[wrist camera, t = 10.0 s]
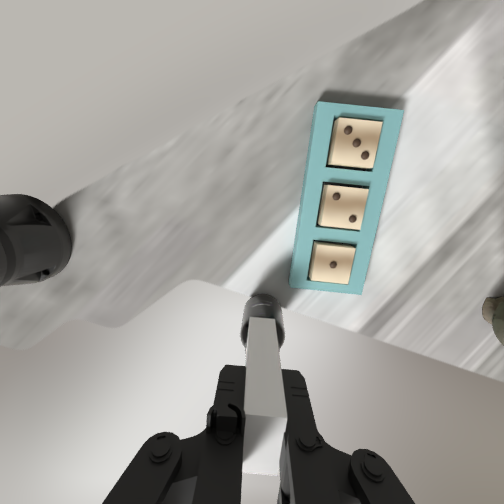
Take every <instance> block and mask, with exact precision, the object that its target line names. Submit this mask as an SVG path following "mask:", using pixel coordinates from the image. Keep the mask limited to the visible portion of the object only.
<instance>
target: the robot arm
mask: <svg viewBox="0 0 504 504" xmlns="http://www.w3.org/2000/svg"><path fill="white" fill-rule="evenodd" d="M70 254H71V240H70V235H69V232H68V230H67V227H66V225H65V223H64V222H63V220H62V219H61V217H60V216H59V215H58V214H57V213H56V212H55V211H54V210H53V209H52V208H51V207H50V206H48V205H47V204H46V203H44V202H43V201H41V200H39V199H37V198H34V197H31V196H28V195H22V194H12V195H0V286H9V285H20V284H31V283H37V282H41V281H44V280H46V279H48V278H50V277H53V276H55V275H56V274H58V273H59V272H61V271H62V270H63V269H64V267H65V266H66V264H67V263H68V260H69V258H70ZM279 467H280V480H281V482H280V488H279V494H278V500H277V504H415V503H414V501H413V500H412V498H411V497H410V495H409V494H408V493H407V491H406V489H405V488H404V486H403V485H402V484H401V482H400V481H399V479H398V478H397V476H396V475H395V473H394V472H393V470H392V469H391V467H390V466H389V465H388V464H387V462H386V461H385V460H384V459H383V458H382V457H381V456H379V455H378V454H376V453H375V452H373V451H370V450H368V449H358V450H356V451H354V452H353V454H352V456H351V455H349V454H346V453H344V452H342V451H339V450H337V449H335V448H333V447H331V446H330V445H328V444H327V443H326V442H325V441H324V439H323V437H322V436H321V435H320V434H319V432H318V430H317V428H316V424H315V419H314V415H313V411H312V407H311V403H310V399H309V394H308V391H307V386H306V382H305V379H304V377H303V376H302V375H301V373H300V372H299V371H297V370H286V369H281V363H280V356H279V347H278V340H277V332H276V324H275V319H268V318H257V317H250V319H249V329H248V339H247V349H246V362H245V366H234V365H225V367H224V368H223V369H222V370H221V371H220V374H219V379H218V385H217V390H216V395H215V400H214V405H213V406H212V407H211V408H210V409H209V412H208V414H207V425H206V429H205V430H204V431H202V432H201V433H200V434H198V435H196V436H193V437H190V438H186V439H182V440H180V439H179V437H178V436H177V435H175V434H173V433H170V432H162V433H157V434H155V435H154V436H152V437H150V438H149V439H148V440H147V441H146V442H145V443H144V444H143V446H142V447H141V448H140V450H139V451H138V453H137V454H136V456H135V457H134V459H133V460H132V461H131V463H130V464H129V466H128V467H127V468H126V470H125V471H124V473H123V474H122V476H121V477H120V479H119V480H118V482H117V483H116V484H115V486H114V487H113V489H112V490H111V491H110V493H109V494H108V496H107V497H106V499H105V500H104V502H103V503H102V504H241V503H240V502H241V483H242V473H252V474H264V475H275V476H278V473H279Z"/></svg>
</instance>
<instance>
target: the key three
mask: <svg viewBox="0 0 504 504" xmlns="http://www.w3.org/2000/svg"><path fill="white" fill-rule="evenodd" d="M382 123H383V122H378V121H369V120H359V119H349V118H338V119H337V120H336V121H334V125H333V131H332V137H331V143H330V149H329V155H328V161H327V165H334V166H344V167H354V168H363V169H368V168H373V165H374V161H375V156H376V151H377V147H378V142H379V137H380V133H381V128H382Z"/></svg>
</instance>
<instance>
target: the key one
mask: <svg viewBox="0 0 504 504" xmlns="http://www.w3.org/2000/svg"><path fill="white" fill-rule="evenodd" d="M355 250H356V248H354V247H353V246H351V245H347V244H338V243H328V242H318V241H314V244H313V250H312V256H311V262H310V268H309V274H308V275H309V277H310V279H311V280H312V281H321V282H331V283H340V284H348V282H349V278H350V273H351V268H352V264H353V259H354V254H355Z"/></svg>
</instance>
